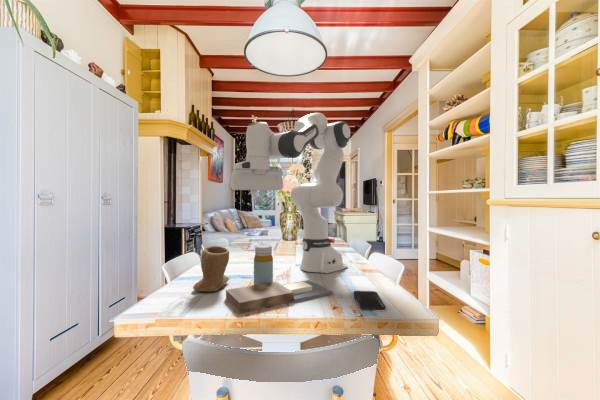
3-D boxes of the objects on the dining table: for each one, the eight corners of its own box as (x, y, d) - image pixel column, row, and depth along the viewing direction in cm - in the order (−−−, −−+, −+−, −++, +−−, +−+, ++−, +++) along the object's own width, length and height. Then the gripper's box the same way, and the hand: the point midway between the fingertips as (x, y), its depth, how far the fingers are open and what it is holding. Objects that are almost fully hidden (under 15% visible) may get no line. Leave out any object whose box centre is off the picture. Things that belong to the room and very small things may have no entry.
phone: (376, 291, 102) (386, 308, 87) (376, 294, 102) (386, 311, 87) (353, 290, 102) (359, 307, 87) (353, 294, 102) (359, 311, 88)
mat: (308, 282, 114) (308, 280, 114) (332, 294, 101) (332, 291, 101) (274, 289, 106) (274, 286, 106) (295, 302, 93) (295, 299, 93)
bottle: (250, 286, 109) (250, 246, 109) (264, 282, 114) (264, 243, 114) (262, 290, 104) (262, 248, 104) (276, 286, 109) (276, 246, 109)
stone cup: (221, 295, 99) (221, 251, 99) (188, 293, 101) (188, 250, 101) (237, 281, 114) (237, 243, 114) (208, 280, 116) (208, 242, 116)
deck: (275, 289, 105) (275, 281, 105) (293, 301, 94) (293, 292, 94) (225, 299, 96) (225, 290, 96) (239, 313, 85) (239, 302, 85)
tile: (303, 285, 107) (303, 281, 107) (312, 290, 102) (312, 286, 102) (281, 289, 102) (281, 285, 102) (289, 294, 97) (289, 290, 97)
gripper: (278, 167, 118) (278, 201, 119) (228, 164, 108) (228, 202, 108) (286, 166, 113) (286, 202, 113) (234, 163, 102) (234, 203, 103)
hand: (257, 202), depth 110 cm, fingers closed
